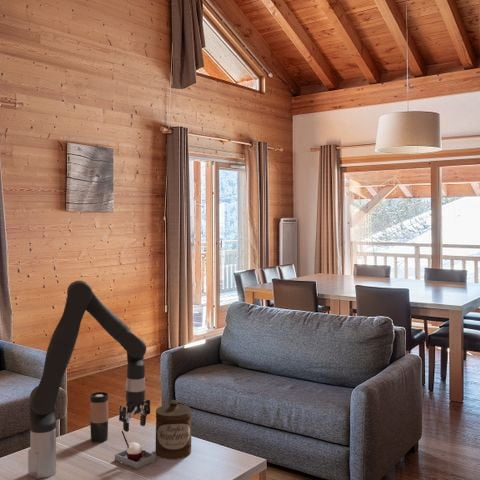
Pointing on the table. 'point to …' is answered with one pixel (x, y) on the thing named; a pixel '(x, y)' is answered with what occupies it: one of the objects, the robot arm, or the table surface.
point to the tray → (140, 463)
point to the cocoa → (133, 450)
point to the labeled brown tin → (173, 431)
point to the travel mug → (99, 416)
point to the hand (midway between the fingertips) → (134, 428)
